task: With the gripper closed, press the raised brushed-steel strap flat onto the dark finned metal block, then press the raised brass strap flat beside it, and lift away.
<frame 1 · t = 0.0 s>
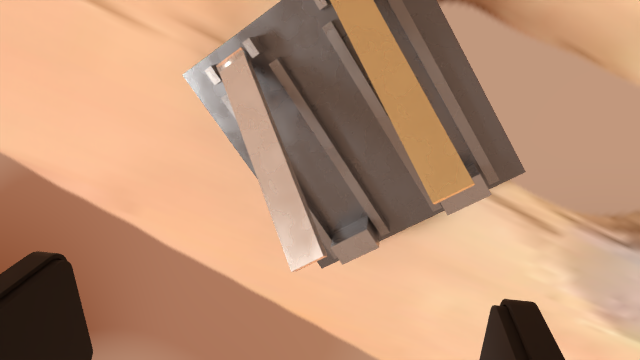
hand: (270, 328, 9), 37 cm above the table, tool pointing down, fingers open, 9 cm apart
heatsink block: (354, 113, 45), on the table
brass strap: (390, 74, 32), point 12 cm above the table, hinge at 35.0°
steel strap: (266, 150, 35), point 12 cm above the table, hinge at 35.0°
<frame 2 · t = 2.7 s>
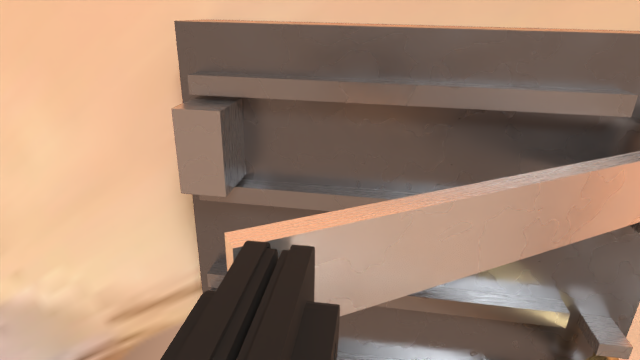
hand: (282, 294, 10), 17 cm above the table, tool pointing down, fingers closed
heatsink block: (405, 216, 28), on the table
steel strap: (519, 217, 15), point 11 cm above the table, hinge at 34.0°, touching gripper
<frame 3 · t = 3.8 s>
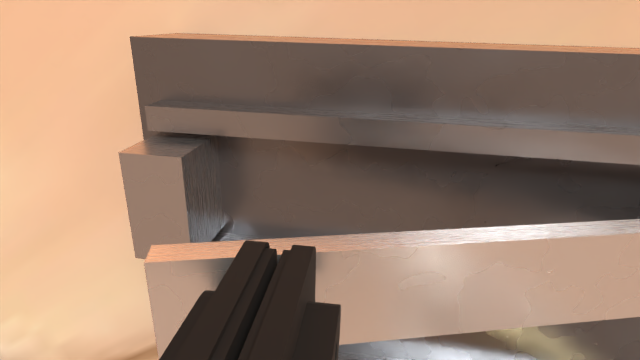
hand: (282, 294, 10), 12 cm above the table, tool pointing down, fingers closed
heatsink block: (421, 271, 23), on the table
steel strap: (525, 277, 12), point 9 cm above the table, hinge at 18.0°, touching gripper
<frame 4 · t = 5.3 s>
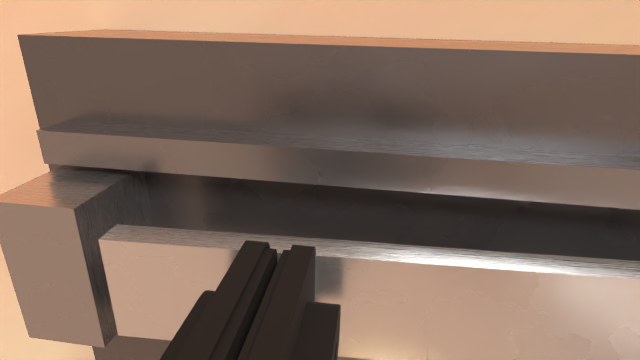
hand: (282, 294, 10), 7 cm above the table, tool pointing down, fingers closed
heatsink block: (417, 322, 19), on the table
steel strap: (514, 313, 10), point 6 cm above the table, hinge at 2.8°, touching gripper
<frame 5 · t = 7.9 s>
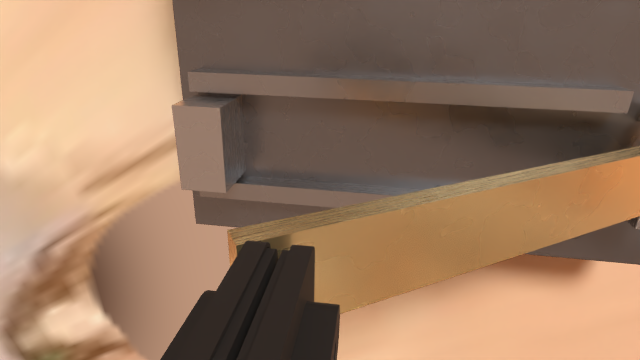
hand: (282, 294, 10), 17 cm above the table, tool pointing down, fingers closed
heatsink block: (424, 22, 23), on the table
brass strap: (518, 213, 15), point 12 cm above the table, hinge at 34.7°, touching gripper
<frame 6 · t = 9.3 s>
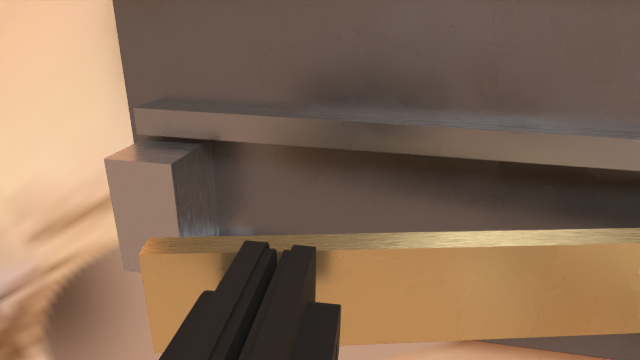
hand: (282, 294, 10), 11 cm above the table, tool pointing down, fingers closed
heatsink block: (462, 39, 17), on the table
brass strap: (533, 284, 12), point 8 cm above the table, hinge at 14.3°, touching gripper
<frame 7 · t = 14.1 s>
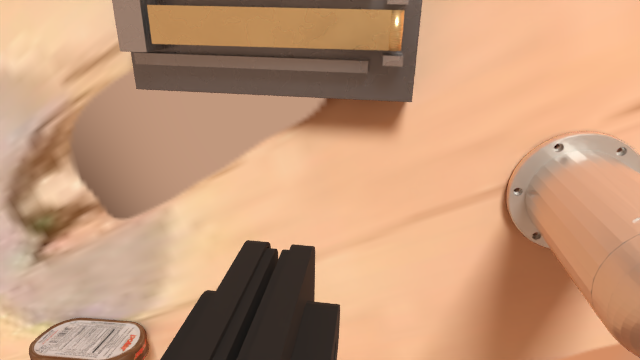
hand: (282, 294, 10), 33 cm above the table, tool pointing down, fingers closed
tin: (109, 323, 58), on the table
brass strap: (274, 27, 34), point 6 cm above the table, hinge at 2.6°
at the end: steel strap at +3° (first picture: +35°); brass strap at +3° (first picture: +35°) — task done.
